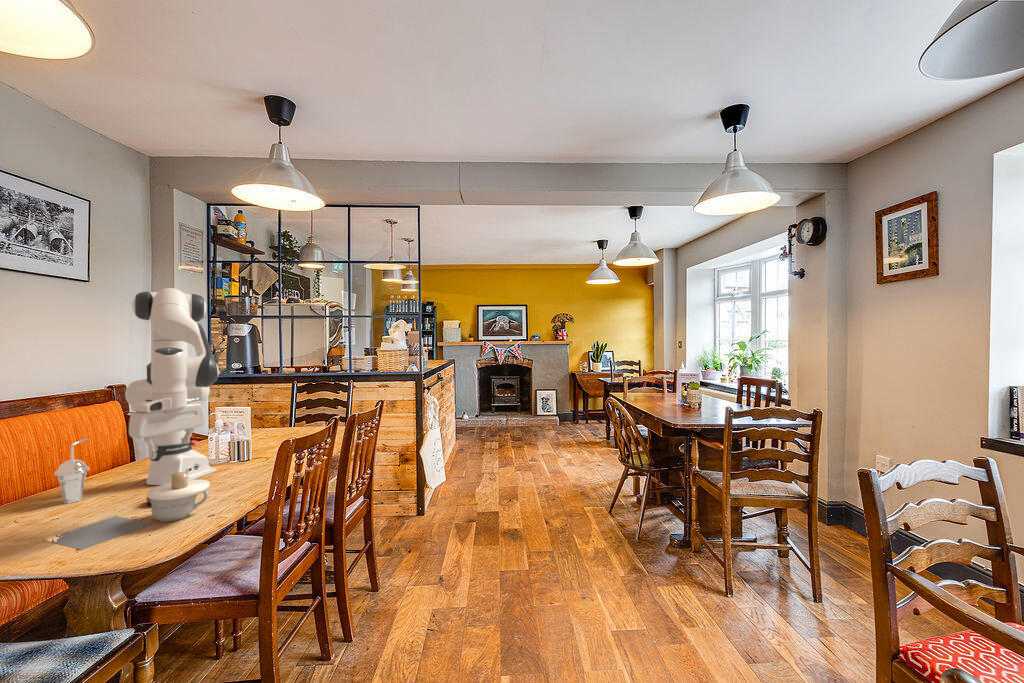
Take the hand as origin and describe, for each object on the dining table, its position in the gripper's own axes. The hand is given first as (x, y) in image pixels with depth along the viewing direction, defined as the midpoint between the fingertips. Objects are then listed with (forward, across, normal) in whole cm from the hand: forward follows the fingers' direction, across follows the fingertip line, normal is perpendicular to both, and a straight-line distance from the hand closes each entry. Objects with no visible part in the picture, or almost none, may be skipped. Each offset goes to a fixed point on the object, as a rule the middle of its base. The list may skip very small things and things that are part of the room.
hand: (169, 446), depth 137 cm
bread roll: (+22, -8, -13) cm, 26 cm away
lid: (+13, 0, +4) cm, 14 cm away
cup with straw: (+22, +1, -44) cm, 49 cm away
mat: (+21, +15, -6) cm, 26 cm away
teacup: (+21, 0, +4) cm, 22 cm away
